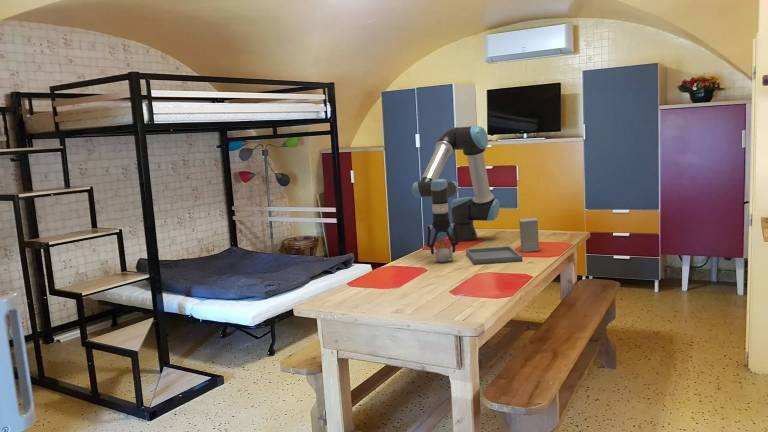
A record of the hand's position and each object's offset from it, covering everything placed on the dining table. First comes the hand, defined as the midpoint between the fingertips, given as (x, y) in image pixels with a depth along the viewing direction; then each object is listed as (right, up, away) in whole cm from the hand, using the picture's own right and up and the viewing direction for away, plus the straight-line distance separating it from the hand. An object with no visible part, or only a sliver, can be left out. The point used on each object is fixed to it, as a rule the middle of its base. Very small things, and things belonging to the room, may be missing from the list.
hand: (443, 260), depth 289 cm
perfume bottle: (-1, -1, 0) cm, 1 cm away
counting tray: (+24, +1, +1) cm, 24 cm away
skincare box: (+44, +4, +12) cm, 45 cm away
